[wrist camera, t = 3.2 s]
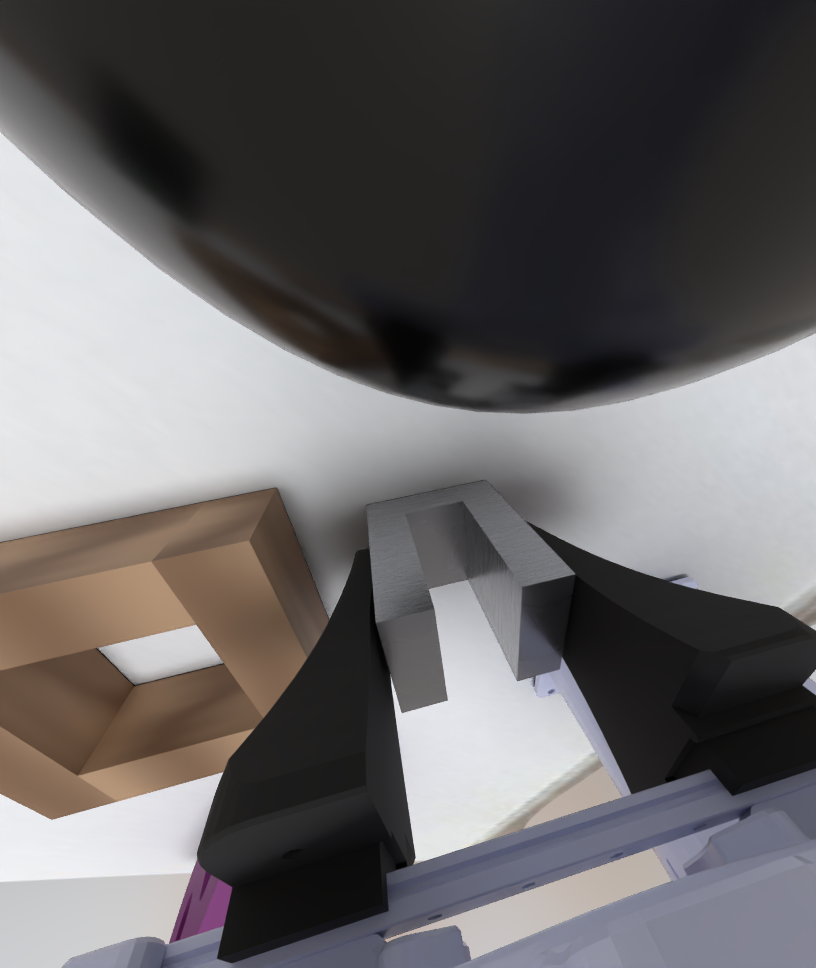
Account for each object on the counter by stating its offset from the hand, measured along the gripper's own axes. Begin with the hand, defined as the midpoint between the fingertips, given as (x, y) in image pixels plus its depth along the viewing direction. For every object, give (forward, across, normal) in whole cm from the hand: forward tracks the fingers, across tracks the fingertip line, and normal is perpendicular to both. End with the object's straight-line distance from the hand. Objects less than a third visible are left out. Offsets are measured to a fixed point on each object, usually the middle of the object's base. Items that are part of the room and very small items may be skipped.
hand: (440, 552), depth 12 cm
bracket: (+1, 0, 0) cm, 1 cm away
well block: (+1, +12, +2) cm, 12 cm away
